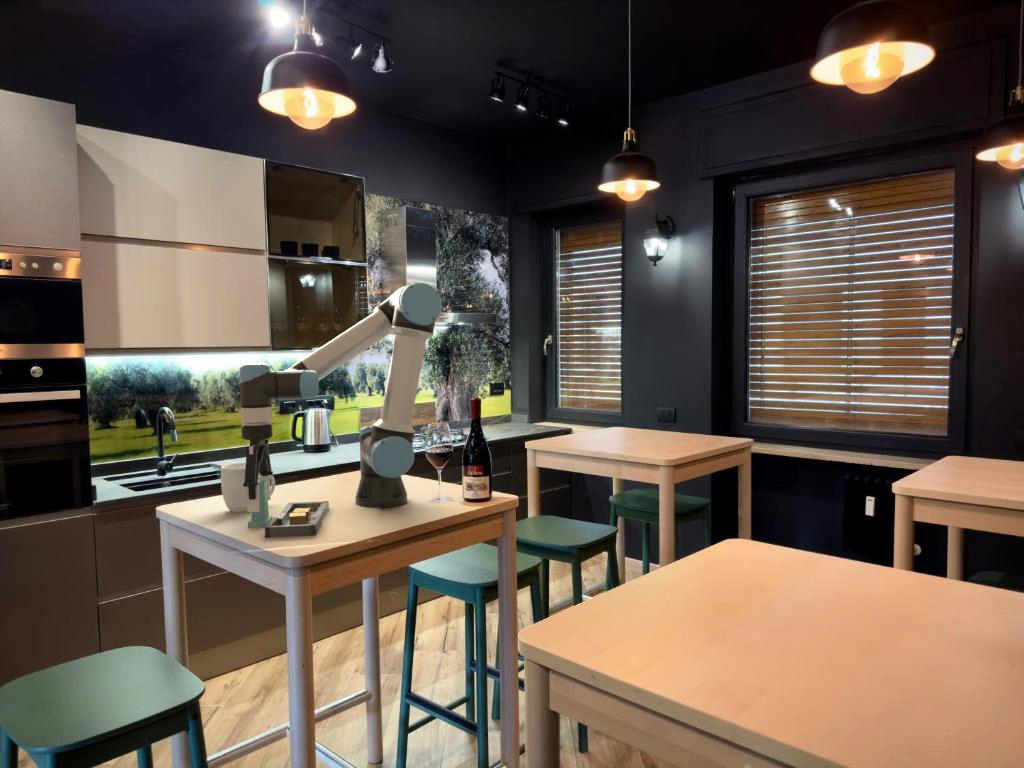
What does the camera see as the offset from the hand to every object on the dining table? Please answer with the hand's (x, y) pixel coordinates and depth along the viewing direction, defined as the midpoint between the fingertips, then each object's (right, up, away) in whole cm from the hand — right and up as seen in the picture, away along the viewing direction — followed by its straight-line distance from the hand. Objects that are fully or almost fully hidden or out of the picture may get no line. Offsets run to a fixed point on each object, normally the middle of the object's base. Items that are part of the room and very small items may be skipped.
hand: (259, 505), depth 180 cm
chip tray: (+11, -6, -6) cm, 14 cm away
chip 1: (+10, -5, +1) cm, 11 cm away
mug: (-10, -5, +18) cm, 21 cm away
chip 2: (+10, -4, +5) cm, 12 cm away
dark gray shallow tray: (+9, -5, +8) cm, 13 cm away
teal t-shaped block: (0, -5, 0) cm, 5 cm away
